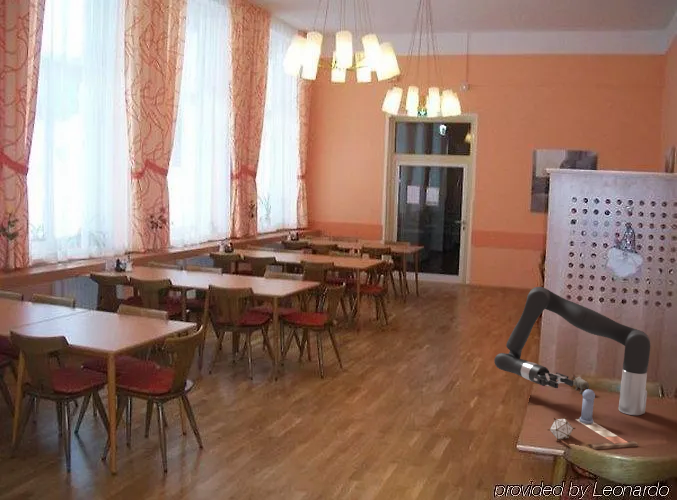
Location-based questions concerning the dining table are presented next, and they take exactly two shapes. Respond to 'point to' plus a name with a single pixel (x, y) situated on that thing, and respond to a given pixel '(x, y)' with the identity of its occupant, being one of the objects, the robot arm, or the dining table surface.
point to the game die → (561, 429)
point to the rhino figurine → (580, 384)
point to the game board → (608, 435)
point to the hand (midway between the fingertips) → (565, 384)
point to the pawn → (587, 407)
